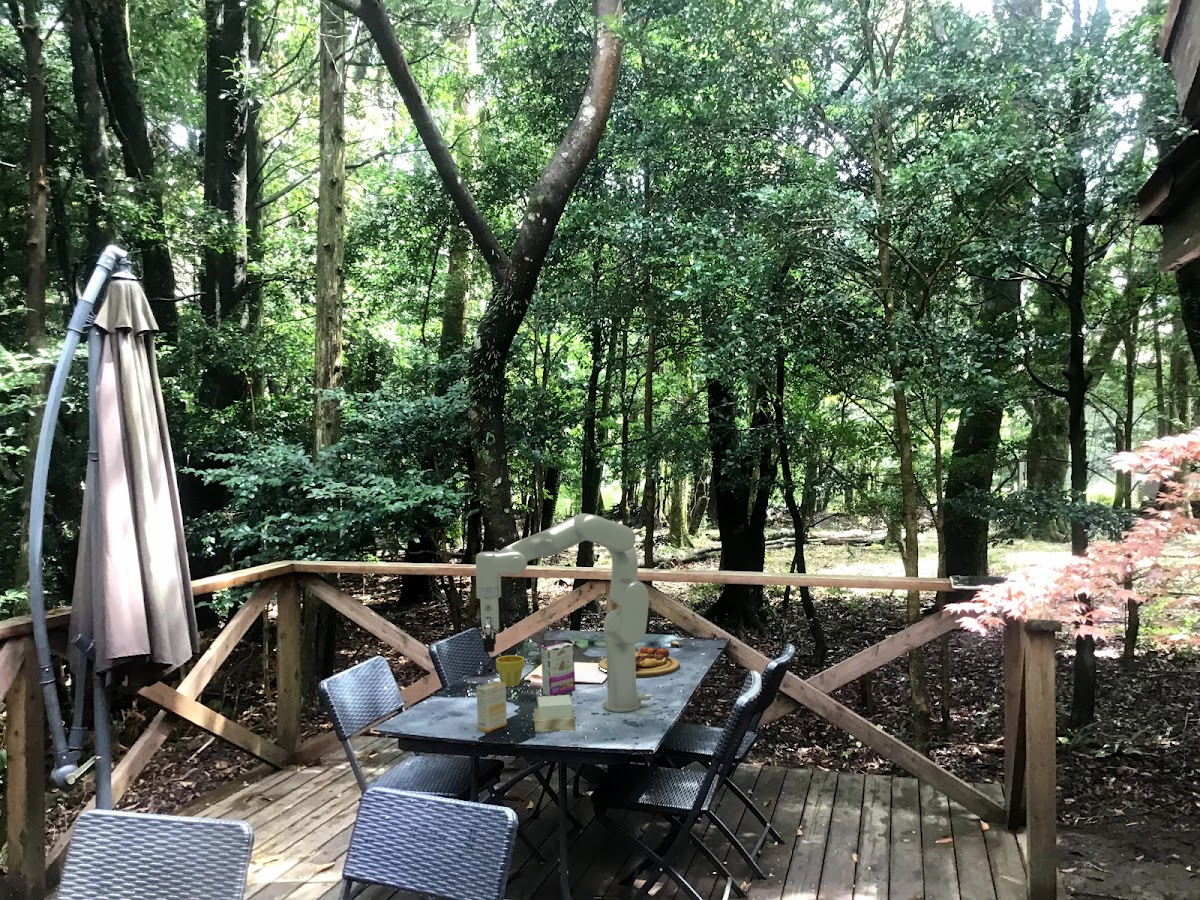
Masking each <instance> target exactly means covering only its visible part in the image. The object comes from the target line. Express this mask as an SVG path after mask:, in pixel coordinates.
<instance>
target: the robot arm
mask: <svg viewBox="0 0 1200 900" xmlns="http://www.w3.org/2000/svg"><path fill="white" fill-rule="evenodd" d="M585 541H586V542H587V541H589V542H591V543H593V544H597V545H599V546H601V547H604V548H606V550H607V551H608V552H609V554H610V557H611V564H612V565H611V577H610V588H609V596H610V599H611V601H612V602H613V603H614V604H616V605H618V606H620V609H619V608H618V609H617V608H616V609H612V610H610V611H609V612H608V613H607V614H606V615H605V617H604V621H603V634H604V639H605V646H606V647H605V651H606V658H607V673H606V677H607V679H606V680H607V681H606V682H607V683H606V684H607V699H606V700H604V701H603V702H602V703H603V704H602V706H603V709H605V710H607V711H610V712H616V713H625V712H633V711H636V710H639V709H640V708H642V701H651V700H652V696H651V695H652V694H650V693H648V694H647V693H646V692H643V693H642V692H641V693H639V692H638V690H637V677H636V662H635V659H636V657H635V646H636V645H637V644H638V643H640V642H641V641H642V640H643V638H644V637H645V635H646V632H647V625H648V616H649V604H650V603H649V602H650V596H649V591H648V588H647V587H646V586H645V584H644V583H643V582H642V581H640V580H638V573H639V570H638V568H639V567H638V565H639V564H638V563H639V559H638V553H637V550H636V548H635V545H636V534H635V532H634V530H632V528H630V526H627V525H624V524H621V523H618V522H616V521H612V520H609V519H606V518H604V517H601V516H599V515H595V514H593V513H592V514H590V513H579V514H576V515H574V516H572V517H570V518H567V519H566V520H564V521H562V522H560V523H558V524H556V525H553V526H551V527H549V528H547V529H545V530H542V531H539V532H537V533H534V534H533V535H530V536H527V537H524V538H522V539H520V540H517V541H515V542H513V543H511V544H509V545H507V546H505V547H504V548H502V549H501V550H499V551H498V552H497V551H481V552H479V553H477V554H476V556H475V579H476V580H475V582H476V591H475V592H476V593H475V595H476V599H480V619H481V630H482V632H483V653H494V652H495V651H496V650H495V646H496V643H497V640H496V639H497V637H496V633H497V631H498V630H499V627H500V619H499V618H500V615H499V614H500V613H499V611H500V609H499V598H501V597H502V577H501V575H503V576H504V575H505V576H506V575H507V576H516V575H520V574H522V573H524V572H525V571H526V569H527V566H528V562H529V561H533V560H534V559H538V558H544V557H550V556H555V555H558V554H561V553H562V552H564V551H566V550H568V549H570V548H573V547H574V546H576V545H578V544H580V543H582V542H585Z"/></svg>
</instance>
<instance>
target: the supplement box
mask: <svg viewBox="0 0 1200 900" xmlns="http://www.w3.org/2000/svg"><path fill="white" fill-rule="evenodd" d="M506 689H507V688H506V684H505V683H502V682H501V681H497V680H495V681H492V682H489V683H486V684H482V685H480V686H477V687H476V713H477V715H476V716H477V730H478V729H479V731H481V730H483V731H482V732H485V731H486V732H485V733H490V732H492V731H495V730H497V729H499V728H503V727H505V726H507V725H508V724H507V723H508V720H507V718H508V717H507V690H506ZM494 729H495V730H494Z"/></svg>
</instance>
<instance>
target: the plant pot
mask: <svg viewBox="0 0 1200 900" xmlns="http://www.w3.org/2000/svg"><path fill="white" fill-rule="evenodd" d="M524 668H525V657H524V656H521V655H512V654H511V655H509V654H508V655H504V656H499V657H497V658H496V660H495V669H496V670H497V671H498V676H499V679H500V680H499V682H502V683H505V684H506V687H512V686H516V685H519V684H520V683H521V678H522V674H523V669H524ZM519 686H520V685H519Z"/></svg>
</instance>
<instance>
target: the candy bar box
mask: <svg viewBox="0 0 1200 900" xmlns="http://www.w3.org/2000/svg"><path fill="white" fill-rule="evenodd" d="M574 650H575V649H574V644H573V643H569V642H562V643H557V644H554V645H549V646H545V647H541V648H540V654H541V655H540V656H541V677H542V680H541V681H542V694H543V695H544V694H545V695H544V696H555V695H556V696H558V694H559V695H563V694H566V693H565V692H567V693H570V692H573V691H572V690H574V691H575V690H576V678H575V676H576V675H575V673H576V672H575V654H574V653H575V652H574ZM569 691H570V692H569ZM562 693H563V694H562Z"/></svg>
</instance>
